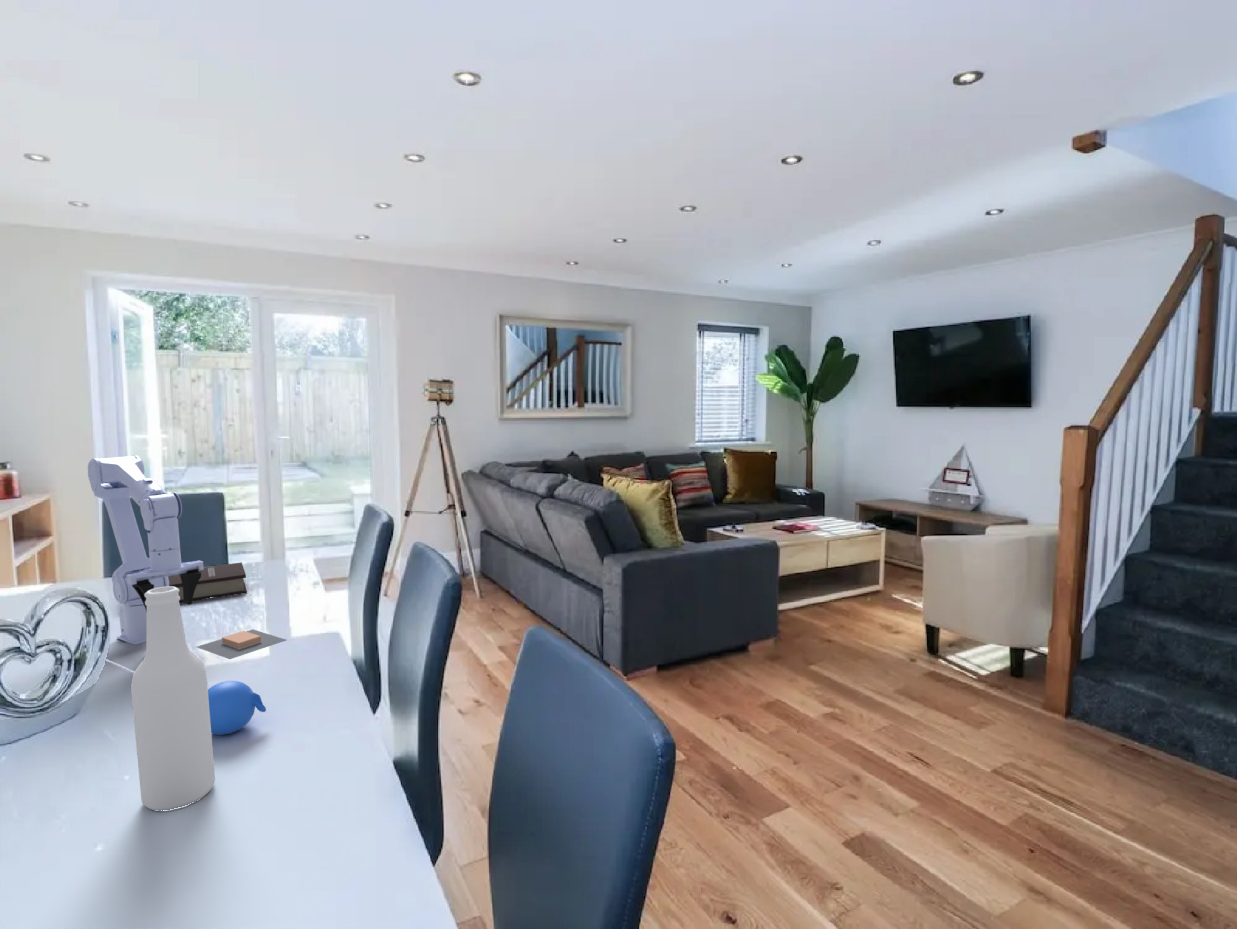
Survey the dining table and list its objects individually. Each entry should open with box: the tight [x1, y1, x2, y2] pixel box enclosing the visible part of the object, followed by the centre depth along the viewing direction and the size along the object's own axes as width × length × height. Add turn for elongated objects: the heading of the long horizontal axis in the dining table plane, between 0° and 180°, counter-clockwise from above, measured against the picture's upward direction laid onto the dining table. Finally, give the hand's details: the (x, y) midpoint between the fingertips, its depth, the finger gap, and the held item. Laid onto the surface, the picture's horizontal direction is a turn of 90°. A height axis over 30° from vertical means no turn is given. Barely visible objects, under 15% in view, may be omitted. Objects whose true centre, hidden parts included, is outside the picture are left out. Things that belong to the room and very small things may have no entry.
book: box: [168, 561, 248, 604], centre depth 196 cm, size 28×20×6 cm
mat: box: [196, 629, 287, 660], centre depth 154 cm, size 14×13×1 cm
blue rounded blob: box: [208, 680, 267, 736], centre depth 116 cm, size 12×12×8 cm
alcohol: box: [130, 586, 216, 811], centre depth 94 cm, size 9×9×30 cm
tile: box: [221, 630, 261, 650], centre depth 154 cm, size 2×5×7 cm
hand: (169, 608), depth 150 cm, fingers open, 7 cm apart
